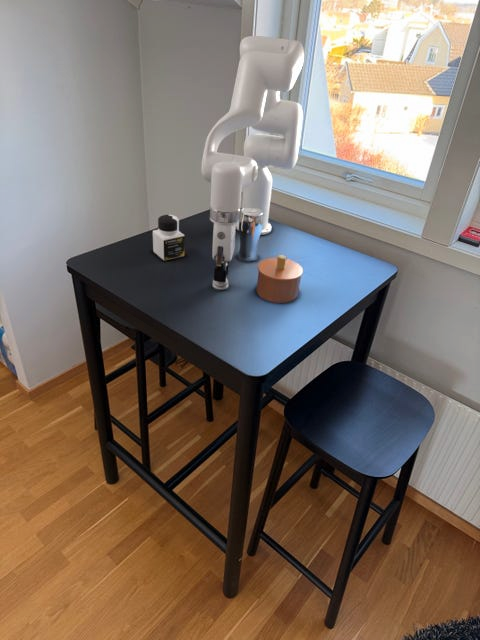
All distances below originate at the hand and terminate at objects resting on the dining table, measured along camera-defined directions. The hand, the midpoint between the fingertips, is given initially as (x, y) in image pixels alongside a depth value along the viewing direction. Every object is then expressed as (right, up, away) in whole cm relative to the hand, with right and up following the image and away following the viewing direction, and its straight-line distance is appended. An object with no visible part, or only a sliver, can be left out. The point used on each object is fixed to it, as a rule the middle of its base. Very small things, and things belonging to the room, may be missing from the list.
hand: (221, 277), depth 128 cm
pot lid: (+16, +2, -2) cm, 16 cm away
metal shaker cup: (+8, +8, +18) cm, 21 cm away
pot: (+16, -4, +2) cm, 16 cm away
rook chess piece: (0, -3, +2) cm, 3 cm away
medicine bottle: (-17, +8, +16) cm, 24 cm away
